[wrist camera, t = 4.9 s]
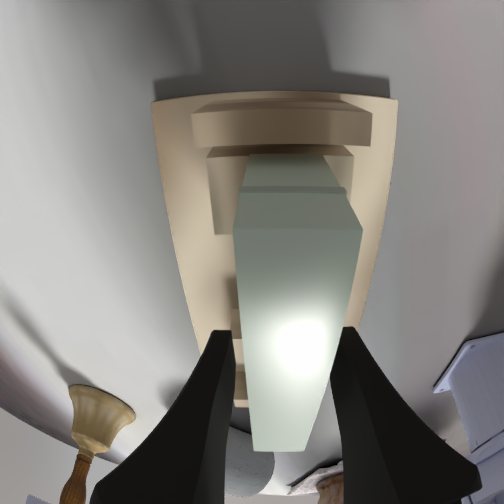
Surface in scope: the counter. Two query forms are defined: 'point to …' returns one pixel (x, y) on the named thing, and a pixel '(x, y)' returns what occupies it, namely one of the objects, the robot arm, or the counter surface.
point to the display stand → (232, 175)
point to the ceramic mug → (246, 465)
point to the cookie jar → (323, 485)
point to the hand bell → (92, 433)
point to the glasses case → (291, 289)
